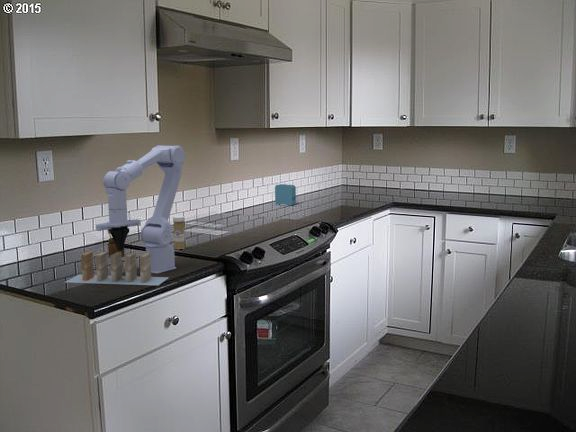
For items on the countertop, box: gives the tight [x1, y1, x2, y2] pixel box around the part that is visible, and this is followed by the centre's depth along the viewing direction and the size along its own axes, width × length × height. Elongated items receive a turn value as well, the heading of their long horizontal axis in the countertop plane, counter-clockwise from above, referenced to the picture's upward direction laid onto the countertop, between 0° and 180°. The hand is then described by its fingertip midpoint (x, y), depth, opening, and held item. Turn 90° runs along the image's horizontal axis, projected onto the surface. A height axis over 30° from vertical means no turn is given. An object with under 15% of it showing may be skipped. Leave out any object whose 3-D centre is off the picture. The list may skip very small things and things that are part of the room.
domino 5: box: [139, 252, 152, 283], centre depth 206 cm, size 2×5×9 cm, turn 170°
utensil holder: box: [106, 230, 125, 258], centre depth 245 cm, size 6×6×12 cm
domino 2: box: [95, 251, 109, 281], centre depth 209 cm, size 2×5×9 cm, turn 171°
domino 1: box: [80, 251, 95, 281], centre depth 210 cm, size 2×5×9 cm, turn 171°
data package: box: [274, 183, 297, 206], centre depth 379 cm, size 12×4×12 cm, turn 58°
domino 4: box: [124, 252, 138, 282], centre depth 207 cm, size 2×5×9 cm, turn 170°
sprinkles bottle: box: [172, 215, 186, 251], centre depth 256 cm, size 5×5×14 cm
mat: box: [64, 274, 170, 286], centre depth 209 cm, size 32×10×1 cm, turn 80°
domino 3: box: [109, 252, 124, 282], centre depth 208 cm, size 2×5×9 cm, turn 170°
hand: (120, 250), depth 207 cm, fingers closed
